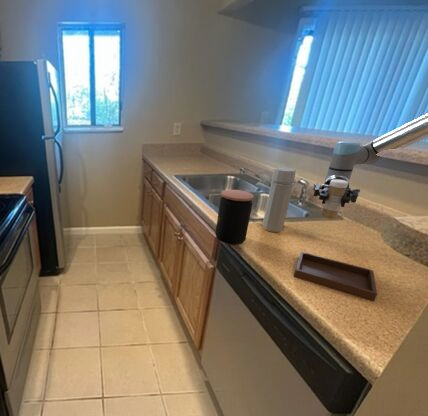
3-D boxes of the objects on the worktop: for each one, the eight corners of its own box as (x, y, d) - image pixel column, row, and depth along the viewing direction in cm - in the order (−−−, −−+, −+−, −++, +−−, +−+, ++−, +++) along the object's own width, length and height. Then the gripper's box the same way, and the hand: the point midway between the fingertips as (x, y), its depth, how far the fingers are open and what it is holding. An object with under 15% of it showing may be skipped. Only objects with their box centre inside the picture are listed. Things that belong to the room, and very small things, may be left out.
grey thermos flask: (262, 223, 117) (274, 166, 108) (284, 228, 112) (298, 168, 103) (258, 231, 110) (271, 170, 101) (281, 236, 106) (297, 173, 97)
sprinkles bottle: (321, 213, 100) (332, 178, 95) (337, 217, 97) (349, 180, 92) (318, 217, 97) (329, 180, 92) (335, 221, 94) (347, 183, 89)
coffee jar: (224, 230, 112) (231, 187, 105) (250, 239, 104) (259, 194, 97) (209, 237, 106) (215, 193, 100) (235, 248, 98) (244, 200, 91)
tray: (370, 277, 81) (373, 270, 80) (374, 301, 71) (377, 294, 70) (299, 257, 91) (300, 251, 91) (293, 276, 82) (295, 269, 81)
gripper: (362, 199, 103) (365, 218, 86) (306, 190, 113) (299, 206, 97) (369, 179, 100) (373, 195, 84) (311, 173, 111) (304, 186, 94)
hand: (333, 201), depth 90 cm, fingers closed on sprinkles bottle, 4 cm apart
